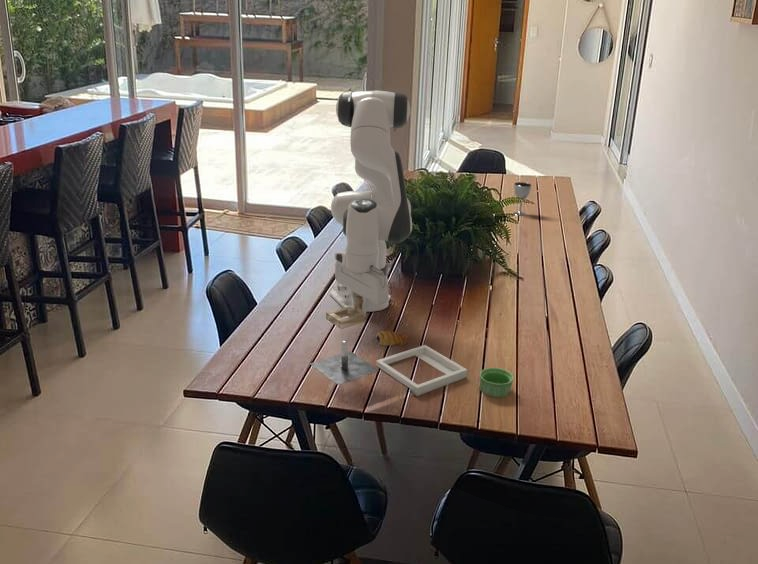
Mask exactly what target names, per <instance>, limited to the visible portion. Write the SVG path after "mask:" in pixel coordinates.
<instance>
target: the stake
mask: <svg viewBox="0 0 758 564" xmlns="http://www.w3.org/2000/svg"><path fill="white" fill-rule="evenodd" d="M340 343H341V344H340V354H336V355H333V356H329V357H327V358H323V359H321V360H317V361H314V362H310V363H309V365H310V366H312V367H313V368H314V369H316V370H317V371H318V372H320V374H322V375H324V376H325V377H326V378H327V379H329V380H330V381H331V382H333V383H335V384H336V385H337V386H339V385H341V384H344V383H347V382H350V381H354V380H356V379H360V378H363V377H365V376H368V375H371V374H375V373H377V372H380V370H379V368H378V369H377V367H375V366H373V365H372V364H371V363H369V362H368V361H366V360H364V359H363V358H361V357H360V356H358V355H357V354H355V353H354V352H352V350H349V340H348V339H341V341H340Z"/></svg>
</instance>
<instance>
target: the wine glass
mask: <svg viewBox="0 0 758 564" xmlns="http://www.w3.org/2000/svg"><path fill="white" fill-rule="evenodd" d="M531 189H532V184H531V183H529V182H523V181H518V182H515V183H514V190H513V191H514V195H515V198H517V197H519V198H521V199H524V201H525V200H526V199H528V198H529V195H530V193H531ZM522 205H523V203H521V204H520V203H519V207H518V208H519V209H518V211H514V212H512V213H513V214H512V215H514V214H515V215H514V216H517V215H518V217H519V216H520V217H524V216H527V215H528V214H527V213H526V212H523V211H522Z"/></svg>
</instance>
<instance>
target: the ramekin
mask: <svg viewBox="0 0 758 564" xmlns="http://www.w3.org/2000/svg"><path fill="white" fill-rule="evenodd" d="M479 379H480V387H479V388H480V391H481V392H482V393H483V394H486V395H487V396H490V397H494V398H500V397H501V398H502V397H506V396H508V395H510V393H511V390H512V386H513V385H512V384H513V382H514V379H515V377H514V375H513V373H511V372H510V371H509V370H507V369H504V368H499V367H488V368H484V369H482V370H481V371H480V373H479Z"/></svg>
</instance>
